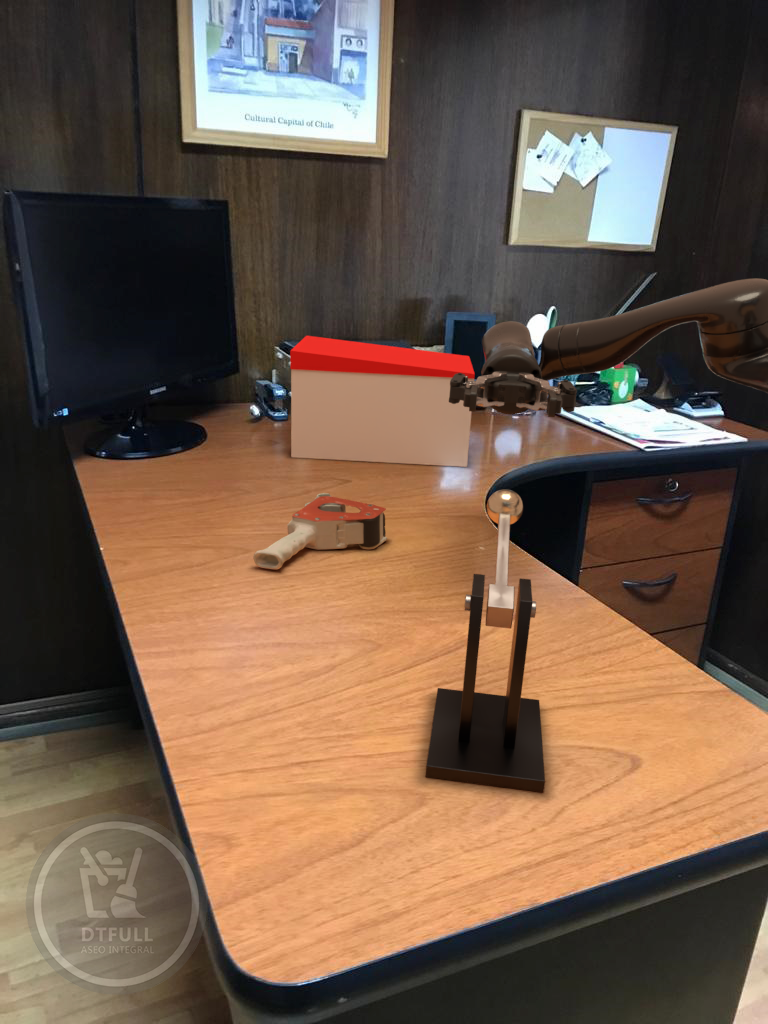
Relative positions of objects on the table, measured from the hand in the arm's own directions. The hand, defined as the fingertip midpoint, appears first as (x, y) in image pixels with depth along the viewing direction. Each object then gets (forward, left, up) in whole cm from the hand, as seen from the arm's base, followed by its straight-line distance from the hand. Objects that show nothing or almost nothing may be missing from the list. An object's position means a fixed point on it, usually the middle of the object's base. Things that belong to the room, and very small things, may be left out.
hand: (512, 405), depth 83 cm
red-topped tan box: (+24, -71, -27) cm, 79 cm away
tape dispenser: (+25, -18, -27) cm, 41 cm away
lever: (0, +16, -12) cm, 20 cm away
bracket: (0, +23, -27) cm, 35 cm away
